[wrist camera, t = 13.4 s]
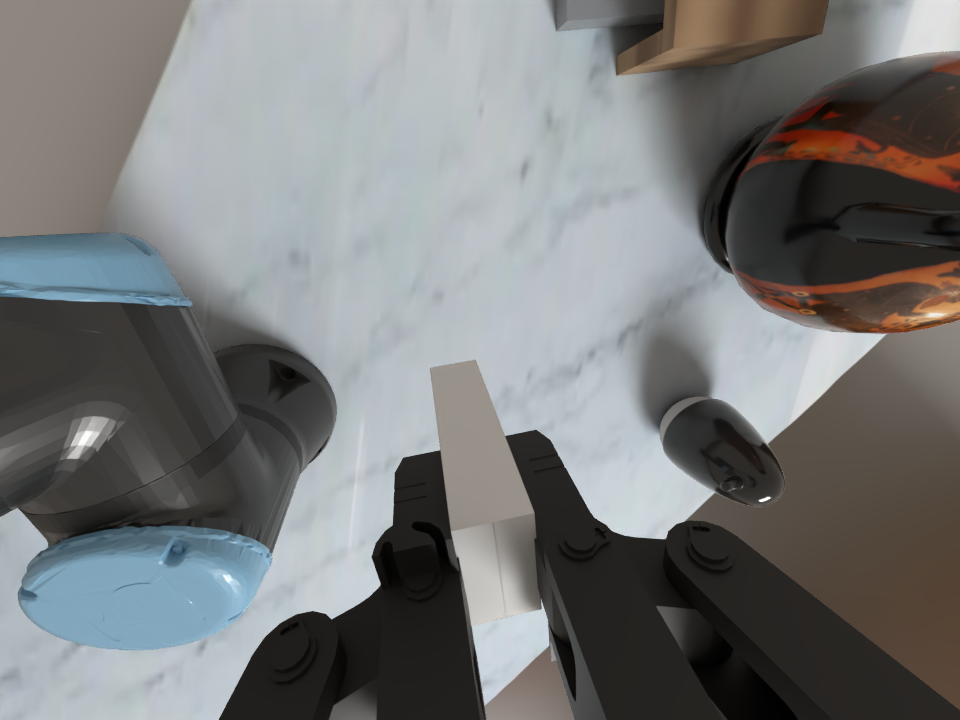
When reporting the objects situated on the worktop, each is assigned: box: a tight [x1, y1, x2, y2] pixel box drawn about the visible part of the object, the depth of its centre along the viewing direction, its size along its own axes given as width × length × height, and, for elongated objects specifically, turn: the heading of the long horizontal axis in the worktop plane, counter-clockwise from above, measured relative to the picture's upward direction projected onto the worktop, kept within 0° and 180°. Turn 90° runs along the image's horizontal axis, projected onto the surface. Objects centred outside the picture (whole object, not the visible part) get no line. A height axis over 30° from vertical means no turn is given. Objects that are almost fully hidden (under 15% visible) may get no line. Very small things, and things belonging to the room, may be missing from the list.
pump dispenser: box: [660, 397, 785, 507], centre depth 48 cm, size 10×10×15 cm
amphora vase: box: [704, 51, 960, 334], centre depth 31 cm, size 22×22×28 cm
